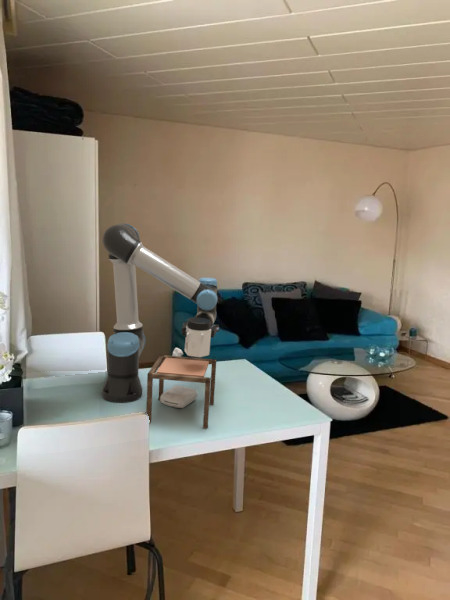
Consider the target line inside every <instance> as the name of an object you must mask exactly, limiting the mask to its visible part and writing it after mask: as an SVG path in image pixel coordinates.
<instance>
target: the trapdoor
mask: <svg viewBox="0 0 450 600" xmlns="http://www.w3.org/2000/svg"><path fill="white" fill-rule="evenodd" d="M209 366H210V364H209V361H201V360H189V359H177V358H165V360H164V361H163V363H162V364H161V366H160V367H159V368H158V370H157V371H156V373H162V374H174V375H186V376H197V377H206V376H205V375H206V374H207V371H208V367H209Z"/></svg>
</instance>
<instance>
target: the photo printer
mask: <svg viewBox="0 0 450 600" xmlns="http://www.w3.org/2000/svg"><path fill="white" fill-rule="evenodd" d="M197 398H198V391H197V390H196V389H193V388H191V387H185V386H182V385H174V386H172V387H170V389H167V390H166V391H163V394H162V395H161V397H160V400H159V402H160V403H162V404H163V405H165V406H167V407H168V406H169V407H171V408H177V409H183V408H186V406H188V405H190V404H191V403H193V402H194V401H196V399H197Z"/></svg>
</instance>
